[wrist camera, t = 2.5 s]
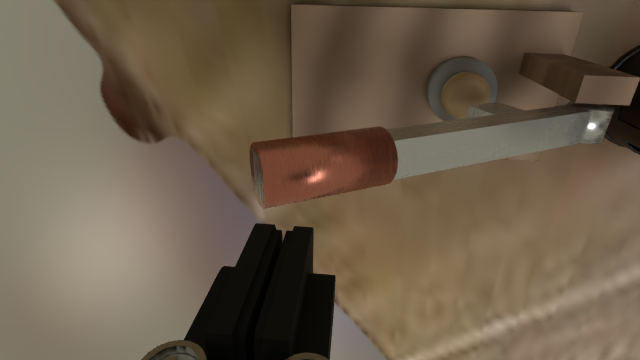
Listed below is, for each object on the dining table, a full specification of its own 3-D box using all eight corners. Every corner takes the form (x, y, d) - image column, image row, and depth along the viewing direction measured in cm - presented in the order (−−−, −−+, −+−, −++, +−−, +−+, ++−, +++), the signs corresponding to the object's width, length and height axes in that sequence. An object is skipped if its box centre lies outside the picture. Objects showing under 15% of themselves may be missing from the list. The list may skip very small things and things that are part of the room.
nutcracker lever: (563, 88, 25) (629, 103, 22) (551, 127, 27) (612, 148, 23) (240, 124, 17) (266, 157, 14) (244, 178, 18) (269, 221, 15)
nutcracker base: (571, 11, 29) (674, 19, 20) (529, 152, 35) (593, 214, 25) (295, 4, 31) (263, 8, 22) (296, 138, 37) (271, 191, 27)
